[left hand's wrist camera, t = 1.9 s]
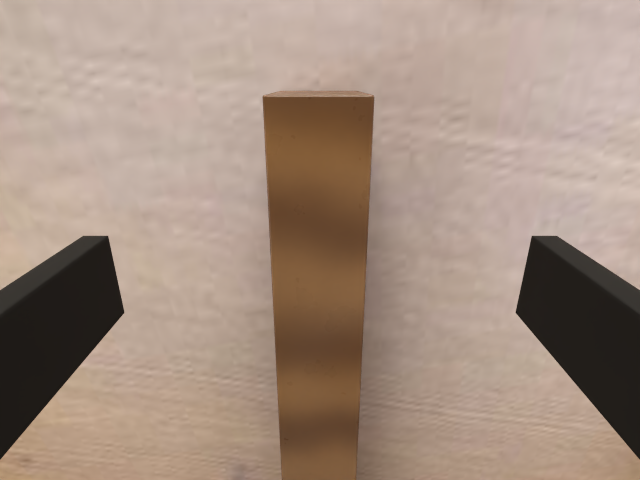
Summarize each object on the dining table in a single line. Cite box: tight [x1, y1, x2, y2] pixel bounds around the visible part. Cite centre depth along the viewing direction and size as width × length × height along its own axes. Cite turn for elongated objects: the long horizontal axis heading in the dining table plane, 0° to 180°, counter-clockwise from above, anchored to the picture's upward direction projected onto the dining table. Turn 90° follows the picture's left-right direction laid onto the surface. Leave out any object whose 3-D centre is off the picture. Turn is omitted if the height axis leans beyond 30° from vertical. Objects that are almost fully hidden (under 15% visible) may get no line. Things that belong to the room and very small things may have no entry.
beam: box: [263, 91, 374, 480], centre depth 30 cm, size 52×5×8 cm, turn 0°
